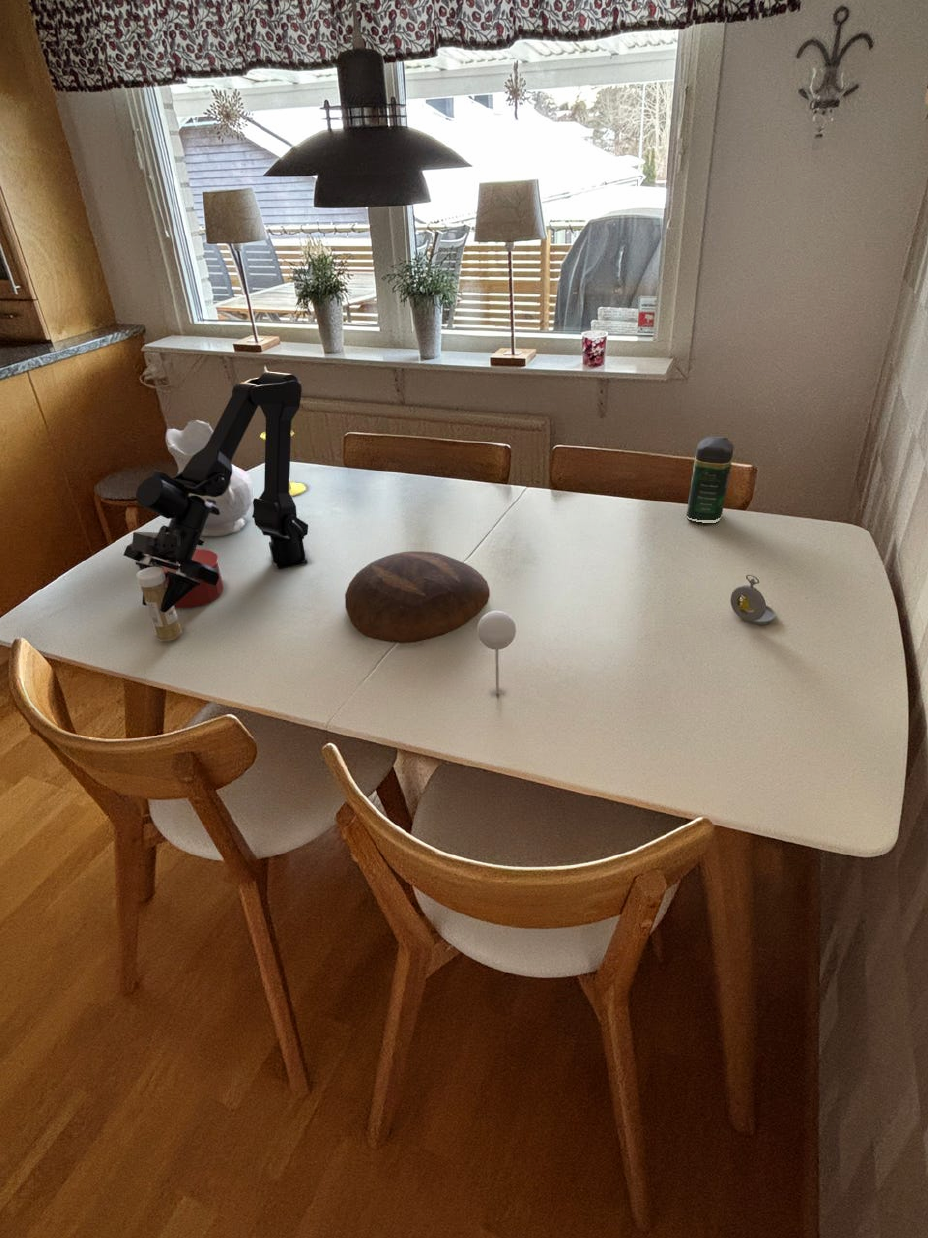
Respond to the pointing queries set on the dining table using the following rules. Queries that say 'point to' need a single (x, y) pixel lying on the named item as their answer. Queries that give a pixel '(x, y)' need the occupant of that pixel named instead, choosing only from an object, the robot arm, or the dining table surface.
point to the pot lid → (200, 559)
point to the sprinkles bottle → (158, 603)
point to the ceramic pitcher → (238, 488)
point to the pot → (201, 594)
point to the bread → (414, 597)
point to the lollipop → (496, 634)
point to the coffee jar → (710, 479)
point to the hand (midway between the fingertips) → (153, 608)
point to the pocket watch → (751, 604)
